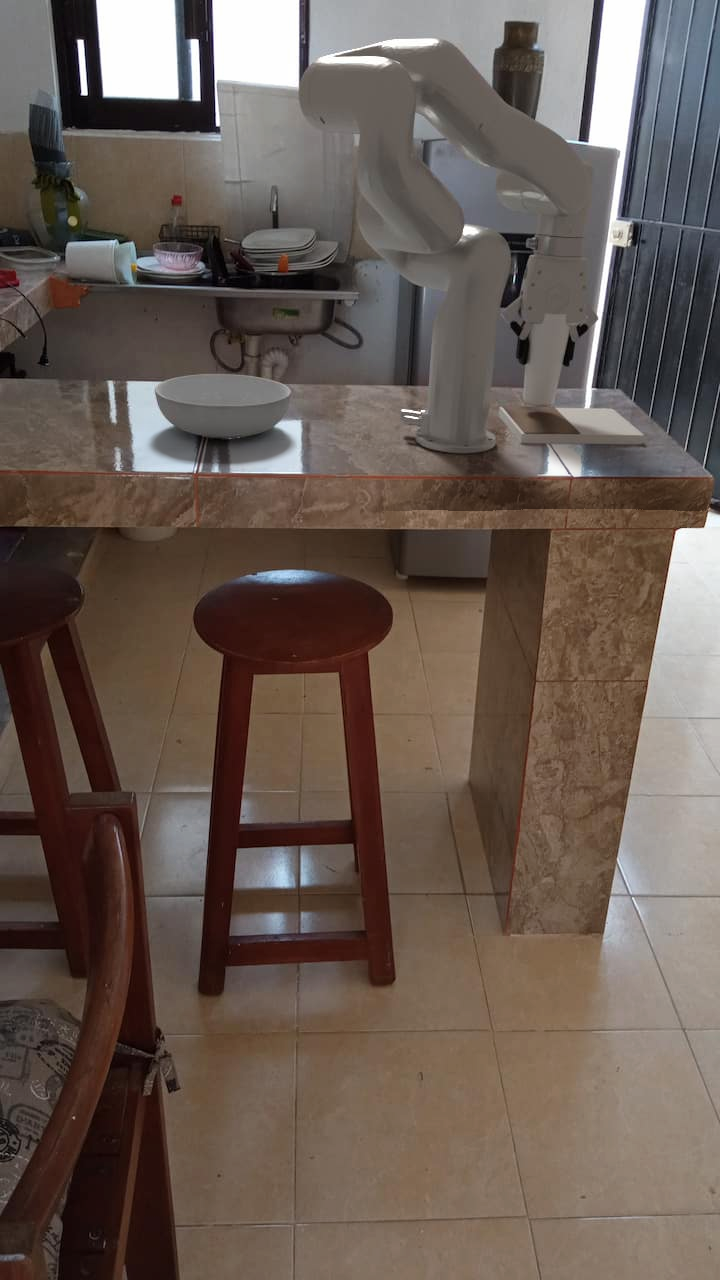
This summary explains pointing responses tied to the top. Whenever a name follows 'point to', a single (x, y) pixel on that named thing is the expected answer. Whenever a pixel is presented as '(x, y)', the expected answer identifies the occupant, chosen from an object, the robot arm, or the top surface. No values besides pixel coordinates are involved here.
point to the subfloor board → (583, 428)
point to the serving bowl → (223, 404)
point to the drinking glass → (545, 360)
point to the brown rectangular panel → (540, 420)
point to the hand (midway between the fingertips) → (543, 363)
